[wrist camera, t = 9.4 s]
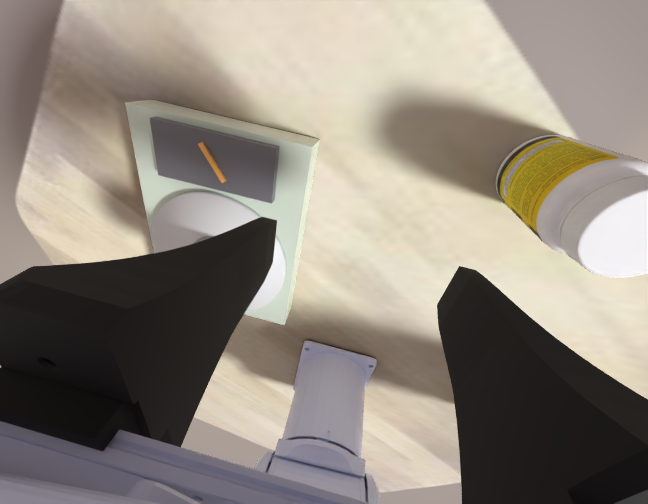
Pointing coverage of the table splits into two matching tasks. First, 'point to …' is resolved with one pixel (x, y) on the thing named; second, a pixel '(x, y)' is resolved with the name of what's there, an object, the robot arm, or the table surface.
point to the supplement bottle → (581, 202)
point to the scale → (224, 186)
